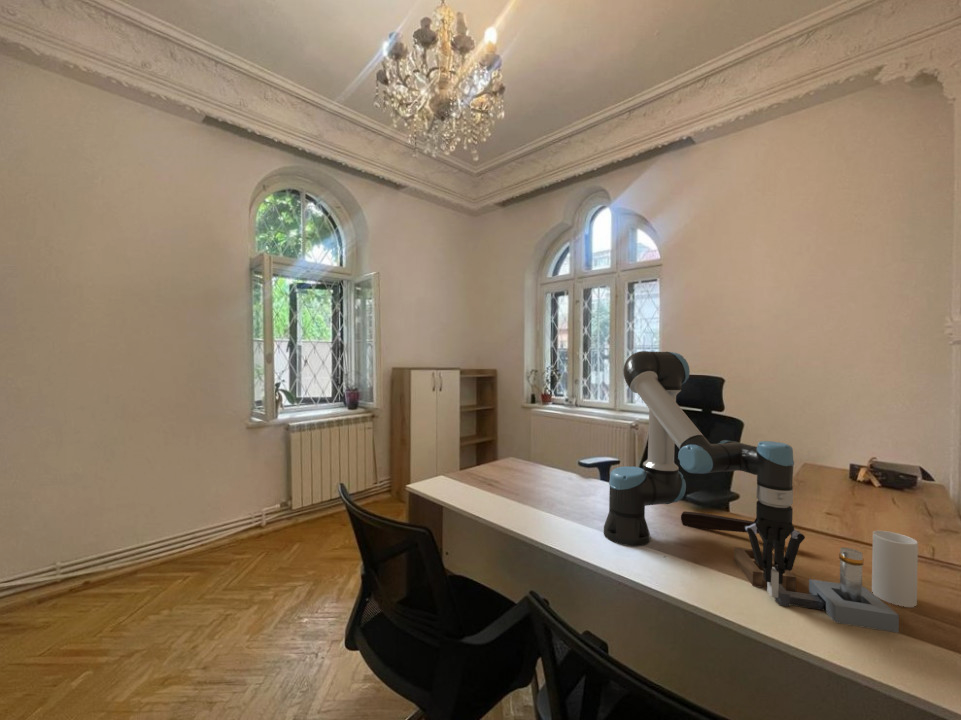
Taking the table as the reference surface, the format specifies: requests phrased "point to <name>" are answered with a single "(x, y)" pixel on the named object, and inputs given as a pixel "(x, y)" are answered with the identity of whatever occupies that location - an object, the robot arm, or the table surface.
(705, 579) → the table surface
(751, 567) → the rack
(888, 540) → the cup
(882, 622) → the socket block
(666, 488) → the robot arm
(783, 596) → the dark grey t-shaped block
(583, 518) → the table surface
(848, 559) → the rod
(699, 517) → the hammer
